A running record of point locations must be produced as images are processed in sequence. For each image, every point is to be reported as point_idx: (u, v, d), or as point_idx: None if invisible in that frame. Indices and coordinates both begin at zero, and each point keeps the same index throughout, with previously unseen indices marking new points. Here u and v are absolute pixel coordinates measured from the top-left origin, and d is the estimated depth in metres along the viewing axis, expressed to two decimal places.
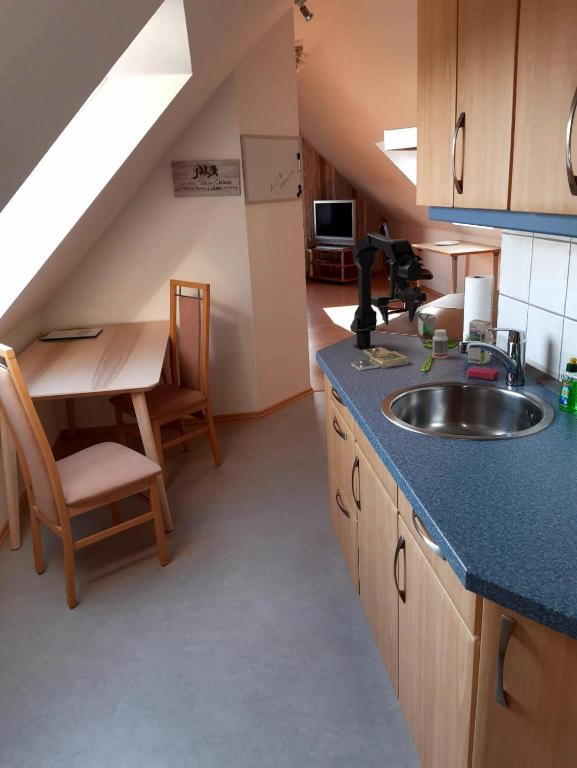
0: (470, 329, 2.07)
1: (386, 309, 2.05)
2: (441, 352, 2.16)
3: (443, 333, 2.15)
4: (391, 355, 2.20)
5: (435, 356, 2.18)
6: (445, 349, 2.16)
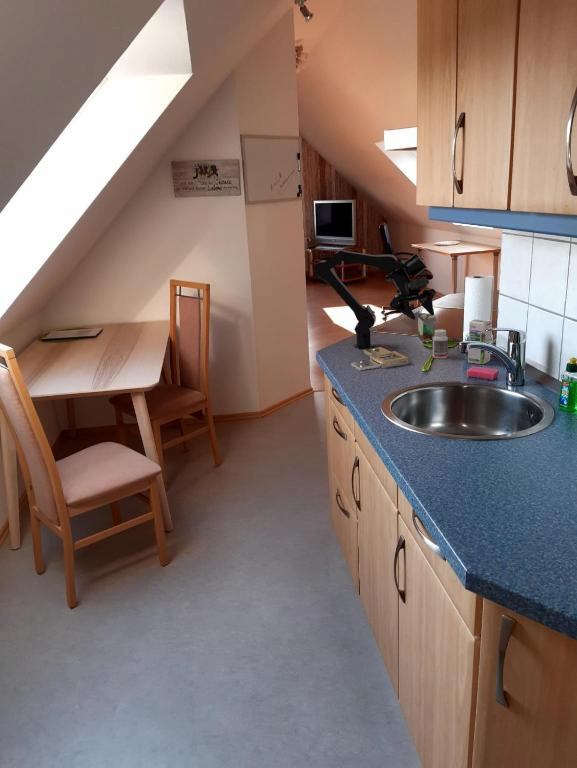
0: (470, 329, 2.07)
1: (407, 304, 2.20)
2: (441, 352, 2.16)
3: (443, 333, 2.15)
4: (391, 355, 2.20)
5: (435, 356, 2.18)
6: (445, 349, 2.16)
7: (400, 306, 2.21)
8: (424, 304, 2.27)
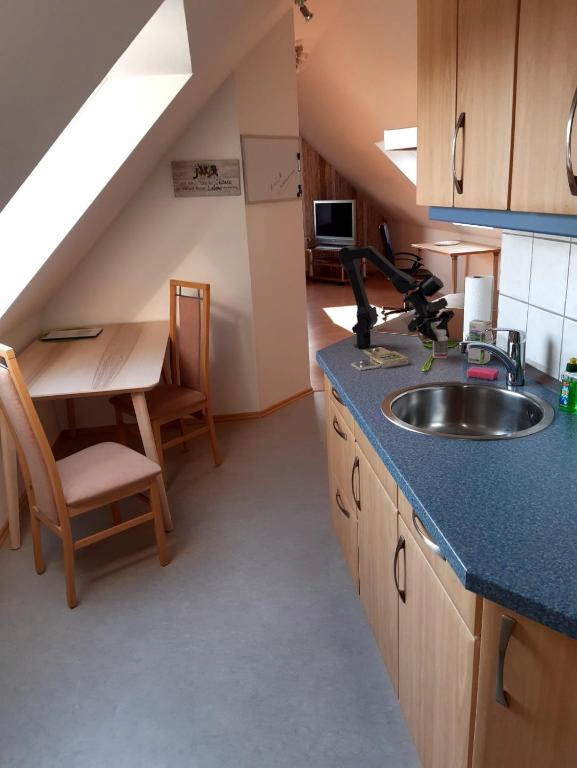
0: (470, 329, 2.07)
1: (429, 325, 2.15)
2: (441, 352, 2.16)
3: (443, 333, 2.15)
4: (391, 355, 2.20)
5: (435, 356, 2.18)
6: (445, 349, 2.16)
7: (422, 328, 2.16)
8: (439, 327, 2.21)
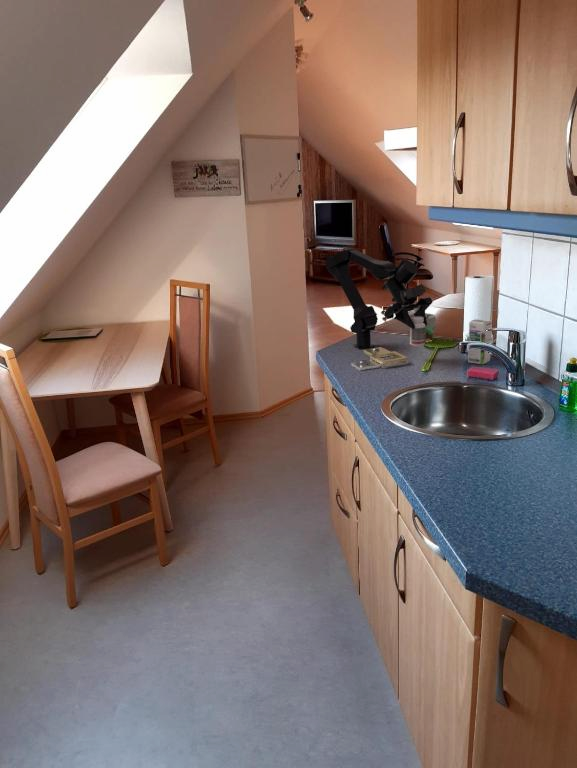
0: (470, 329, 2.07)
1: (406, 312, 2.12)
2: (418, 340, 2.14)
3: (420, 320, 2.12)
4: (391, 355, 2.20)
5: (412, 343, 2.15)
6: (422, 336, 2.14)
7: (399, 315, 2.13)
8: (416, 314, 2.18)
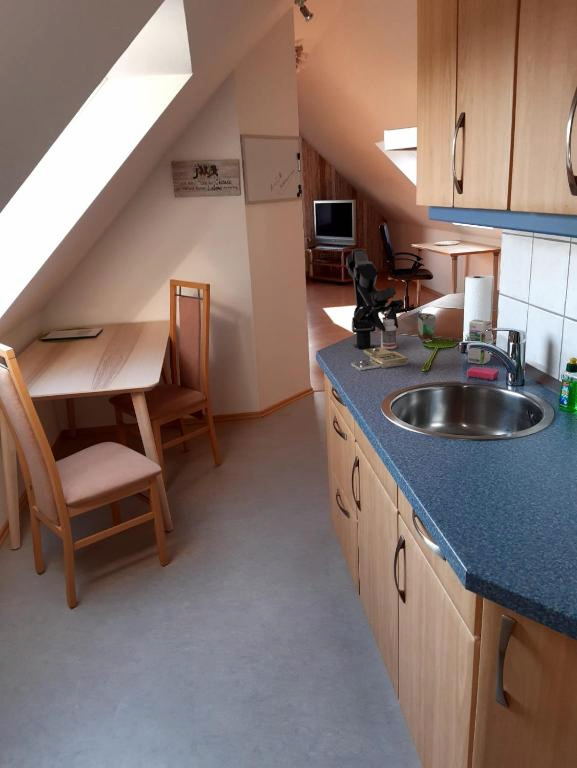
0: (470, 329, 2.07)
1: (377, 315, 2.10)
2: (389, 342, 2.12)
3: (391, 323, 2.10)
4: (391, 355, 2.20)
5: (383, 346, 2.13)
6: (393, 339, 2.12)
7: (370, 317, 2.12)
8: (388, 316, 2.17)
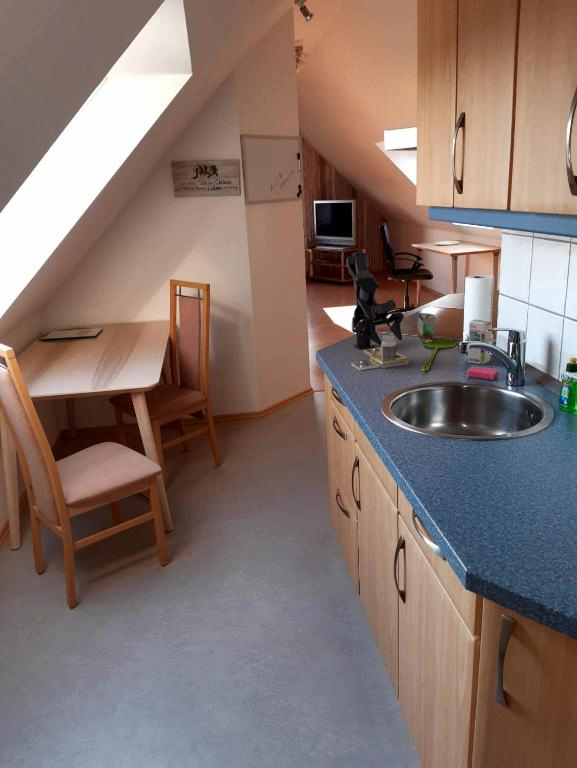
0: (470, 329, 2.07)
1: (373, 329, 2.11)
2: (389, 358, 2.14)
3: (391, 338, 2.12)
4: None
5: None
6: (393, 355, 2.14)
7: (366, 331, 2.12)
8: (392, 328, 2.19)
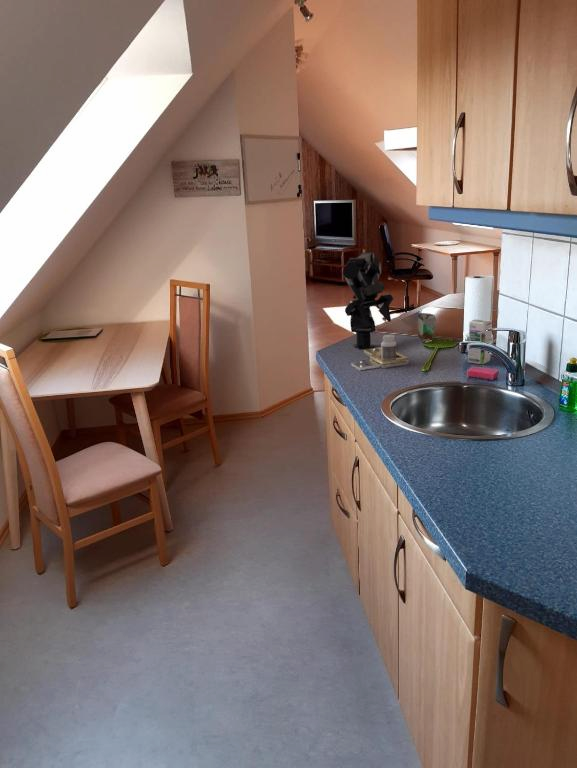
0: (470, 329, 2.07)
1: (362, 310, 2.14)
2: (389, 358, 2.14)
3: (391, 338, 2.12)
4: None
5: None
6: (393, 355, 2.14)
7: (355, 312, 2.15)
8: (381, 310, 2.22)
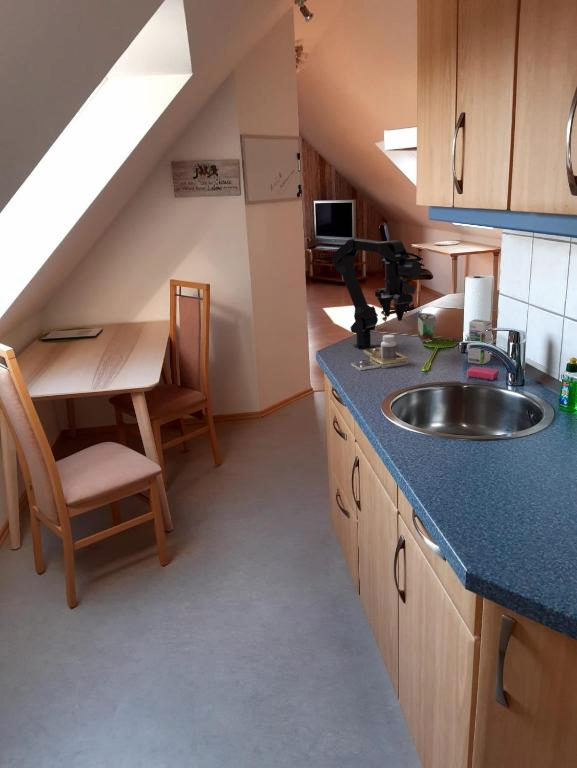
0: (470, 329, 2.07)
1: None
2: (389, 358, 2.14)
3: (391, 338, 2.12)
4: None
5: None
6: (393, 355, 2.14)
7: None
8: (384, 301, 2.27)
